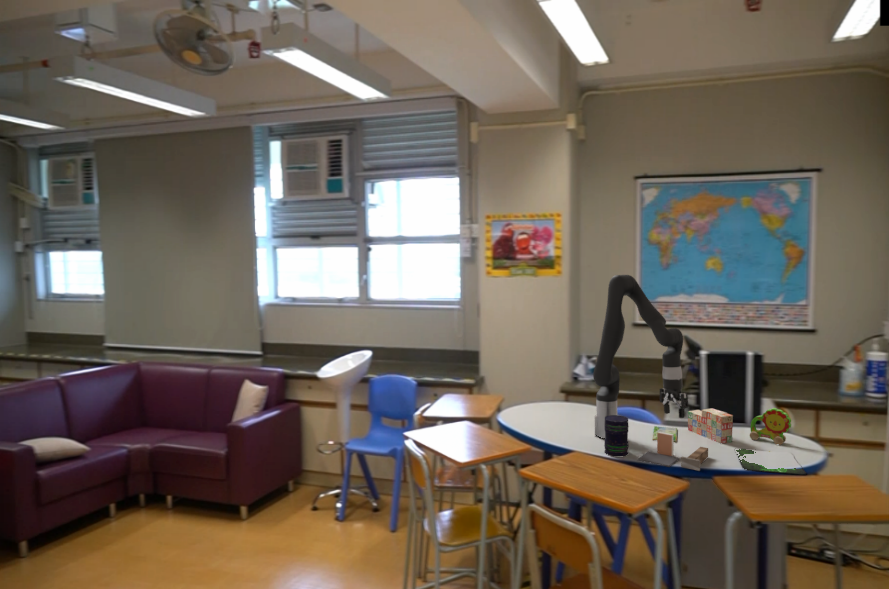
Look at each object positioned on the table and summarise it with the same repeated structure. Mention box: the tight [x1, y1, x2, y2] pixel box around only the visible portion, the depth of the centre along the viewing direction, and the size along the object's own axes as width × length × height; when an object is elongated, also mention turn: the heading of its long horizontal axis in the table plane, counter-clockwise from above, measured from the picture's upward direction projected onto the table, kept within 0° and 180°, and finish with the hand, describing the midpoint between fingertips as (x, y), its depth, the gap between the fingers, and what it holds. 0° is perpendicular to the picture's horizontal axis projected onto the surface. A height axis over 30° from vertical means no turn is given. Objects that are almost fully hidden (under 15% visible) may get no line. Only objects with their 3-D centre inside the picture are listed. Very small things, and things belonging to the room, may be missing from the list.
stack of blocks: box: [687, 408, 734, 444], centre depth 276 cm, size 21×6×12 cm, turn 18°
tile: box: [656, 432, 674, 457], centre depth 253 cm, size 6×2×9 cm, turn 49°
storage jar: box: [603, 414, 630, 457], centre depth 257 cm, size 10×10×15 cm
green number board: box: [652, 425, 678, 443], centre depth 280 cm, size 20×1×10 cm
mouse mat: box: [736, 448, 807, 476], centre depth 244 cm, size 27×22×1 cm
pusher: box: [680, 446, 709, 472], centre depth 243 cm, size 17×7×4 cm, turn 139°
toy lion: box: [749, 407, 792, 446], centre depth 266 cm, size 16×5×15 cm, turn 44°
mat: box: [637, 451, 680, 468], centre depth 248 cm, size 13×11×1 cm
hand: (674, 415), depth 252 cm, fingers open, 8 cm apart
